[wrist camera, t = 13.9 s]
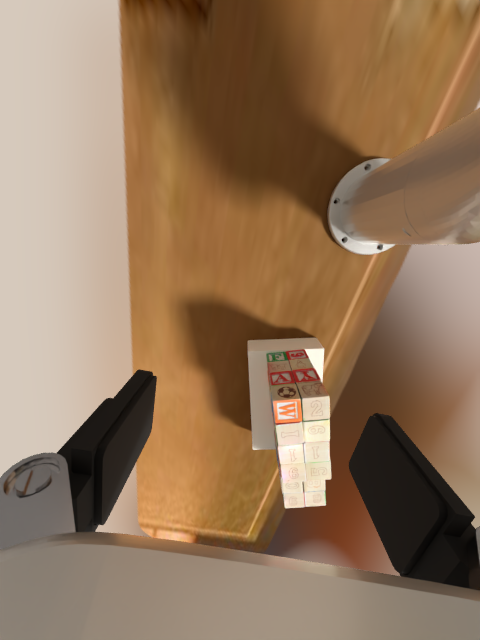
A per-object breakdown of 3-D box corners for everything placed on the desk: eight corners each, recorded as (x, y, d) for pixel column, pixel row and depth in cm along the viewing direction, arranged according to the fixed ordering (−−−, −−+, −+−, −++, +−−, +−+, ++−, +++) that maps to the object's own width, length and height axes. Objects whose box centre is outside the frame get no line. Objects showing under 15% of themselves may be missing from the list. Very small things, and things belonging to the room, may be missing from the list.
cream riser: (315, 336, 42) (324, 348, 37) (311, 427, 48) (318, 448, 43) (247, 339, 42) (247, 351, 38) (252, 429, 48) (252, 449, 44)
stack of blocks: (310, 453, 44) (333, 530, 32) (276, 455, 44) (286, 532, 32) (304, 348, 37) (331, 396, 25) (264, 352, 38) (272, 401, 26)
